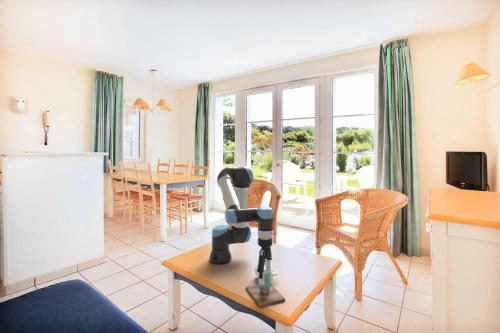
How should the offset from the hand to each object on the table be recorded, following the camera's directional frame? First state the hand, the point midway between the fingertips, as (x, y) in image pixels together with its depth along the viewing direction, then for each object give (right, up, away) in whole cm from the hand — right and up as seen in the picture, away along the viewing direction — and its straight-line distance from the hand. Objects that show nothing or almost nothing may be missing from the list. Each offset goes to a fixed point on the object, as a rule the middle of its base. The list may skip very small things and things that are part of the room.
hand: (264, 277), depth 131 cm
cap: (0, -4, 0) cm, 4 cm away
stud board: (0, -9, 0) cm, 9 cm away
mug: (+2, -8, +16) cm, 19 cm away
